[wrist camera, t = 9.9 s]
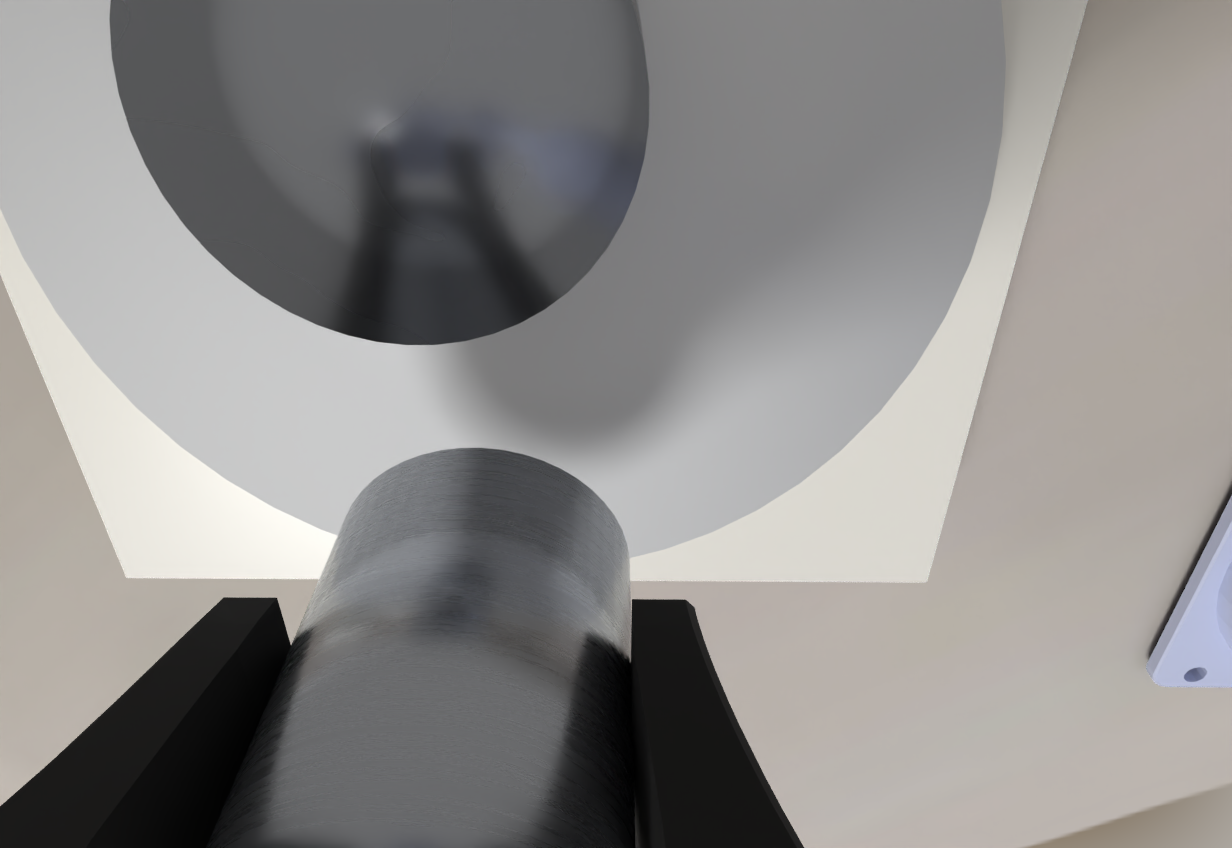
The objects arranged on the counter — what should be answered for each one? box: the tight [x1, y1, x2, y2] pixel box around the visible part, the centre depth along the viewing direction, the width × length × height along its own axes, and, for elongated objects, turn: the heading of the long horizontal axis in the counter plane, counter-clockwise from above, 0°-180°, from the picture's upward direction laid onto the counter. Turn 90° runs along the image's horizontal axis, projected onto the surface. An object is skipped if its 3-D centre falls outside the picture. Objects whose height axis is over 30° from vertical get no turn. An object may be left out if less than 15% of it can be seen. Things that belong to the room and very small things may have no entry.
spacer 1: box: [109, 0, 649, 345], centre depth 8 cm, size 4×4×5 cm
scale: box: [0, 0, 1088, 582], centre depth 12 cm, size 20×16×4 cm
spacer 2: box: [206, 448, 636, 848], centre depth 10 cm, size 4×4×5 cm
